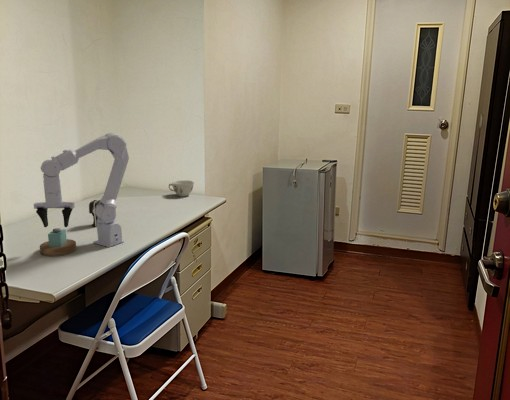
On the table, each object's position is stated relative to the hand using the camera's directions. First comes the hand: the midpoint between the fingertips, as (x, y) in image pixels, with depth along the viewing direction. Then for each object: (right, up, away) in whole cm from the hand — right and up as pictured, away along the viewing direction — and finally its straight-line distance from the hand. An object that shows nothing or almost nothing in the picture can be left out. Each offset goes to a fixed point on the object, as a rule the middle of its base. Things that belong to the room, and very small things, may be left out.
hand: (56, 226), depth 182 cm
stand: (0, -9, +2) cm, 10 cm away
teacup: (+33, +13, +95) cm, 101 cm away
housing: (0, -7, +2) cm, 7 cm away
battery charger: (+3, -1, +36) cm, 36 cm away
